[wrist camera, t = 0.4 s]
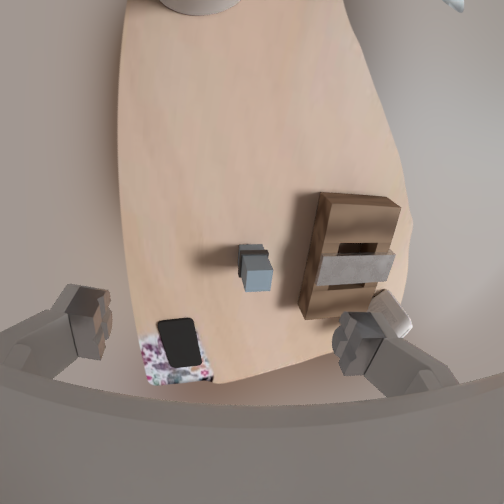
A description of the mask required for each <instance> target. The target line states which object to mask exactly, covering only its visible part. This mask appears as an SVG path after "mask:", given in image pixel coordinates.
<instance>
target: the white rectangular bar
mask: <svg viewBox="0 0 504 504" xmlns="http://www.w3.org/2000/svg"><path fill="white" fill-rule="evenodd" d="M394 258H395V254H394V253H393V252H392V251H391V250H390V249H389V251H388V252H368V253H321V258H320V262H319V266H318V270H317V275H316V279H315V284H316V286H324V285H340V284H355V283H369V282H382V281H387V278H388V275H389V272H390V270H391V267H392V264H393V261H394Z"/></svg>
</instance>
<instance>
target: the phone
mask: <svg viewBox="0 0 504 504" xmlns="http://www.w3.org/2000/svg"><path fill="white" fill-rule="evenodd" d="M158 329H159V332H160V335H161V338H162V342H163V345H164V348H165V351H166V354H167V357H168V360H169V363H170V365H171V367H174V368H179V367H189V366H198V365H201V363H202V360H201V355H200V350H199V346H198V341H197V335H196V331H195V326H194V322H193V320H192V319H191V318H179V319H170V320H162V321H159V322H158Z"/></svg>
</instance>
